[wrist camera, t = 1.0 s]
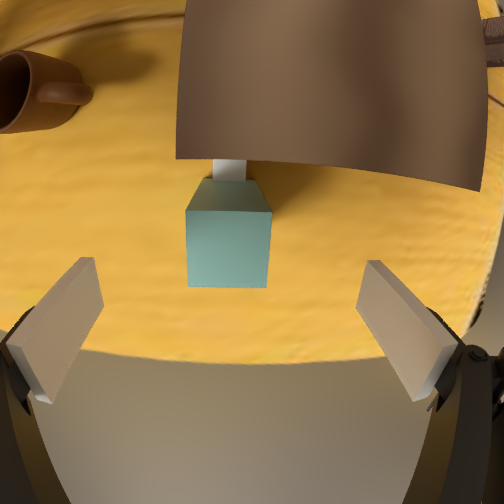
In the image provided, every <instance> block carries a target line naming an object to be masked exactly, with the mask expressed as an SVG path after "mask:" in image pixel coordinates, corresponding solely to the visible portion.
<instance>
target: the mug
mask: <svg viewBox="0 0 504 504" xmlns="http://www.w3.org/2000/svg"><path fill="white" fill-rule="evenodd" d="M92 97H93V91H92V89H91V88H90V87H89V86H86V85H82V80H81V76H80V74H79V72H78V70H77V69H76V68H75V67H74V66H72V65H71V64H69V63H67V62H64V61H61V60H58V59H55V58H52V57H49V56H46V55H43V54H39V53H36V52H31V51H24V50H13V51H10V52H8V53H6V54H4V55H3V56H1V57H0V134H12V133H20V132H29V131H36V130H46V129H52V128H55V127H58V126H60V125H62V124H63V123H65V122H66V121H67V120H68V119H69V118H70V117H71V116H72V114H73V113H74V111H75V110H76V108H77V106H78V105H86V104H88V103H89V102H90V101H91V100H92Z"/></svg>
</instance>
